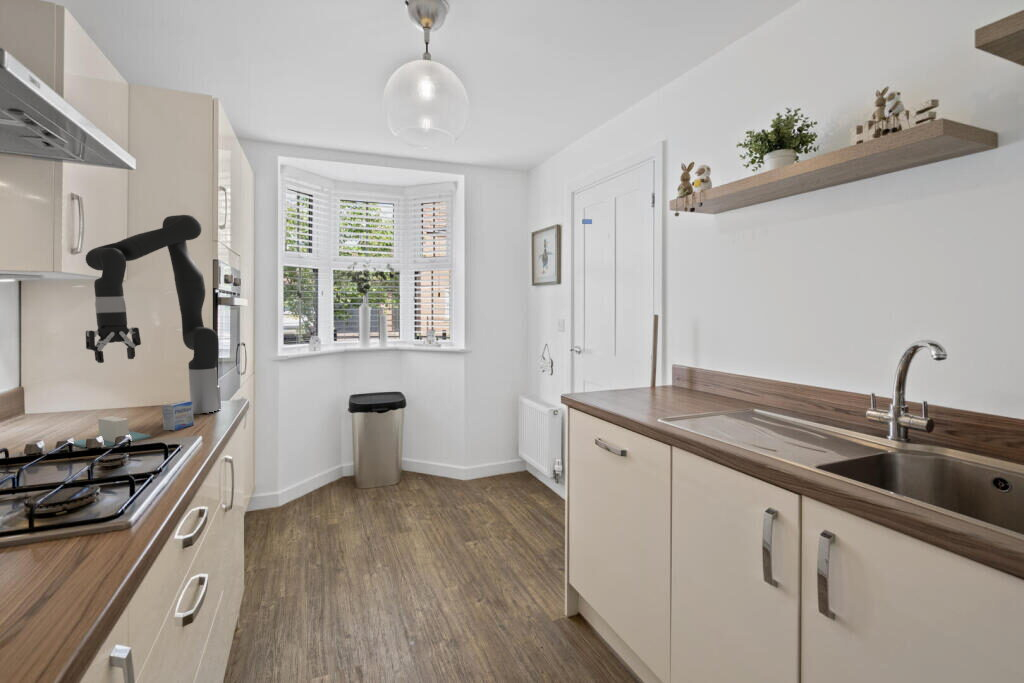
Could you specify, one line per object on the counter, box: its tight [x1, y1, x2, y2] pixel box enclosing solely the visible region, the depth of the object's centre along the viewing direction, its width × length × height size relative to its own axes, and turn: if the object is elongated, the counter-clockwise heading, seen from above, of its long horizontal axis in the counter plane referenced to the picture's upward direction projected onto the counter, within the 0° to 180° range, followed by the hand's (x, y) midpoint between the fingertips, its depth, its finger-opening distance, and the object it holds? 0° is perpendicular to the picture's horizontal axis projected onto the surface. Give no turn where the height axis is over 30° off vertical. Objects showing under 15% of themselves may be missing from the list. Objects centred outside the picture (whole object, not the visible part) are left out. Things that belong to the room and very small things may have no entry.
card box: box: [97, 415, 130, 442], centre depth 149 cm, size 4×6×10 cm
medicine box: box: [161, 400, 194, 432], centre depth 165 cm, size 8×4×9 cm, turn 168°
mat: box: [72, 430, 152, 449], centre depth 150 cm, size 15×14×1 cm
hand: (116, 360), depth 157 cm, fingers open, 8 cm apart
